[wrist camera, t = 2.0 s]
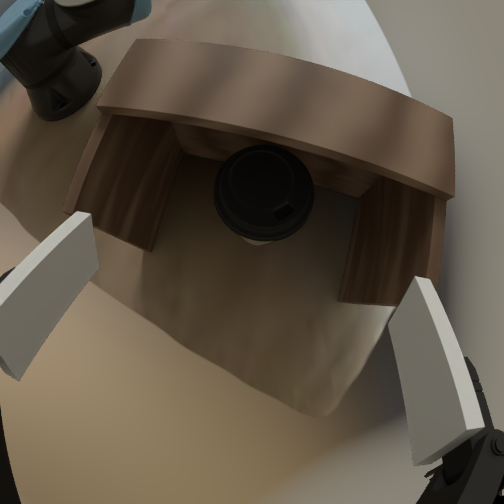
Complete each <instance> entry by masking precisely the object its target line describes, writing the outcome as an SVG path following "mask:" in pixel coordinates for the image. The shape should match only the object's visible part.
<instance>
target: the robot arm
mask: <svg viewBox="0 0 504 504" xmlns="http://www.w3.org/2000/svg"><path fill="white" fill-rule="evenodd" d="M151 9H152V4H151V0H18V1H16V2H15V3H14V4H13V5H12V6H11V7H10V8H9V9H8V10H7V11H6V12H5V13H4V14H3V15H2V17H1V18H0V62H1V63H2V64H3V65H4V66H5V67H6V68H7V69H8V70H9V72H10V73H11V74H12V75H13V76H14V77H15V78H16V79H17V80H18V81H19V82H20V83H21V84H22V85H23V86H24V87H25V88H26V90H27V93H28V96H29V99H30V101H31V104H32V107H33V109H34V111H35V112H36V113H37V114H38V115H39V116H40V117H41V118H42V119H44V120H47V121H55V120H60V119H62V118H65V117H67V116H69V115H71V114H72V113H74V112H75V111H77V110H78V109H79V108H81V107H82V106H83V105H84V104H85V103H86V102H87V101H88V100H89V99H90V98H91V96H92V95H93V94H94V92H95V91H96V89H97V88H98V86H99V83H100V81H101V77H102V69H101V66H100V64H99V63H98V61H97V59H96V58H95V57H94V56H93V55H91V54H90V53H88V52H87V51H85V50H84V49H82V48H81V47H79V46H77V45H79V44H81V43H84V42H86V41H88V40H91V39H93V38H96V37H98V36H101V35H103V34H106V33H109V32H111V31H114V30H117V29H120V28H123V27H125V26H126V27H127V26H130V25H131V24H132V23H135V22H137V21H140V20H143V19H145V18H147V17H148V16H149V14H150V13H151ZM99 268H100V267H99V262H98V256H97V251H96V244H95V238H94V231H93V224H92V216H91V214H90V213H84V212H79V211H77V212H76V213H74V214H73V215H72V216H71V217H70V218H68V219H67V220H66V221H65V222H64V223H63V224H61V225H60V226H59V227H58V228H57V229H56V230H55V231H54V232H52V233H51V234H50V235H49V236H48V237H47V238H46V239H45V240H44V241H43V242H41V243H40V245H38V246H37V247H36V248H35V249H34V250H33V251H32V252H31V253H30V254H29V255H28V256H27V257H26V258H25V259H24V260H23V261H22V262H21V263H20V264H19V265H18V266H17V267H14V268H12V269H11V270H9V271H8V272H6V273H4V274H3V275H2V276H1V277H0V366H1V368H2V369H3V371H4V372H5V373H6V374H8V375H9V376H11V377H12V378H14V379H16V380H17V381H20V379H21V377H22V376H23V374H24V373H25V371H26V369H27V368H28V366H29V365H30V363H31V361H32V360H33V358H34V357H35V355H36V354H37V352H38V351H39V349H40V347H41V346H42V345H43V343H44V342H45V340H46V339H47V337H48V336H49V334H50V333H51V331H52V330H53V329H54V327H55V326H56V324H57V323H58V321H59V320H60V319H61V317H62V315H63V314H64V313H65V312H66V310H67V309H68V308H69V306H70V305H71V304H72V302H73V301H74V299H75V298H76V297H77V295H78V294H79V293H80V292H81V290H82V289H83V288H84V286H85V285H86V284H87V283H88V281H89V280H90V279H91V278H92V276H93V275H94V274H95V272H96V271H97V270H98V269H99ZM388 327H389V331H390V335H391V339H392V343H393V348H394V353H395V357H396V361H397V366H398V371H399V376H400V381H401V386H402V391H403V397H404V403H405V409H406V415H407V422H408V428H409V436H410V443H411V451H412V460H413V466H419V465H427V464H432V463H433V462H435V461H437V460H438V459H440V458H441V457H442V461H443V464H441V465H440V466H438V467H436V468H434V469H433V470H431V471H429V472H428V473H427V474H426V475H425V476H424V477H426V478H427V477H429V476H430V475H432V474H434V475H433V477H432V478H431V479H429V480H430V482H429V484H428V485H427V487H426V489H425V491H424V492H423V494H422V495H421V497H420V498H419V500H418V501H417V503H416V504H504V496H502V490H503V489H504V432H503V431H501V430H498V429H494V426H493V423H492V420H491V416H490V413H489V409H488V406H487V402H486V399H485V396H484V393H483V392H482V390H483V389H482V386H481V384H480V383H479V378H478V375H477V372H476V369H475V367H474V366H473V364H472V363H471V361H470V360H469V359H468V357H463V355H462V352H461V350H460V347H459V344H458V342H457V339H456V337H455V335H454V332H453V329H452V327H451V325H450V322H449V320H448V317H447V315H446V313H445V311H444V308H443V306H442V304H441V302H440V300H439V297H438V295H437V293H436V291H435V289H434V287H433V285H432V282H431V280H430V279H427V278H422V277H417V276H415V277H414V279H413V281H412V283H411V284H410V286H409V288H408V290H407V292H406V294H405V296H404V297H403V299H402V301H401V303H400V305H399V306H398V308H397V310H396V312H395V313H394V315H393V317H392V318H391V320H390V322H389V324H388ZM0 504H21V501H20V498H19V495H18V492H17V488H16V485H15V481H14V478H13V474H12V470H11V466H10V461H9V457H8V452H7V447H6V442H5V436H4V430H3V423H2V416H1V408H0Z"/></svg>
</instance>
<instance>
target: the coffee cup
mask: <svg viewBox="0 0 504 504" xmlns="http://www.w3.org/2000/svg"><path fill="white" fill-rule="evenodd" d="M214 202H215V206H216V209H217V212H218V214H219V216H220V217H221V219H222V220H223V222H224V223H225V224H226V225H227V226H228V227H229V228H230V229H231V230H232V231H234V232H235V233H237V234H238V235H240V236H241V237H242V238H243V239H244V240H245V241H247V242H248V243H250V244H253V245H264V244H267V243H270V242H273V241H276V240H280V239H283V238H286V237H288V236H290V235H291V234H293V233H294V232H296V231H297V230H298V229H299V228H301V226H302V225H303V224H304V223H305V222H306V220H307V219H308V217H309V215H310V213H311V210H312V207H313V202H314V185H313V181H312V178H311V175H310V173H309V171H308V169H307V168H306V166H305V165H304V164H303V163H302V161H301V160H300V159H299V158H297V157H296V156H295V155H294V154H292V153H291V152H289V151H287V150H285V149H282V148H280V147H276V146H271V145H255V146H250V147H247V148H244V149H242V150H240V151H238V152H236V153H234V154H233V155H232V156H230V157H229V158H228V159H227V160H226V161H225V163H224V164H223V165H222V167H221V168H220V170H219V172H218V174H217V177H216V180H215V184H214Z"/></svg>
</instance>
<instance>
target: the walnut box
mask: <svg viewBox="0 0 504 504" xmlns="http://www.w3.org/2000/svg"><path fill="white" fill-rule="evenodd" d="M96 106H97V108H98V109H99V110H100V112H101V115H100V117H99V119H98V121H97V123H96V125H95V127H94V129H93V131H92V134H91V136H90V138H89V140H88V142H87V145H86V147H85V149H84V151H83V154H82V156H81V158H80V161H79V163H78V166H77V168H76V171H75V173H74V176H73V178H72V181H71V184H70V186H69V189H68V192H67V195H66V197H65V200H64V203H63V206H62V209H61V211H62V212H64V213H66V214H68V215H70V216H72V215H73V214H74V213H76V212H77V211H79V212H84V213H90V214H91V216H92V224H93V227H95V228H97V229H99V230H101V231H103V232H106V233H108V234H110V235H112V236H114V237H116V238H118V239H121V240H123V241H125V242H127V243H129V244H131V245H134V246H136V247H138V248H140V249H142V250H145V251H149V252H152V249H153V245H154V242H155V238H156V235H157V232H158V228H159V225H160V222H161V219H162V216H163V212H164V209H165V206H166V203H167V200H168V197H169V194H170V191H171V188H172V185H173V182H174V179H175V177H176V174H177V171H178V168H179V165H180V163H181V160H182V157H183V154H184V153H186V154H191V155H196V156H200V157H205V158H210V159H215V160H219V161H224V162H225V161H226V160H227V159H228V158H229V157H230V156H232V155H233V154H234V153H236V152H238V151H240V150H242V149H244V148H247V147H250V146H255V145H271V146H276V147H280V148H282V149H285V150H287V151H289V152H291V153H292V154H294V155H295V156H296V157H297V158H299V159H300V160H301V161H302V163H303V164H304V165H305V166H306V168H307V169H308V171H309V173H310V175H311V178H312V181H313V185H317V186H320V187H324V188H327V189H330V190H334V191H337V192H340V193H344V194H347V195H350V196H353V197H356V198H358V202H357V208H356V214H355V220H354V225H353V231H352V236H351V241H350V247H349V252H348V256H347V261H346V266H345V271H344V275H343V280H342V284H341V289H340V293H339V297H338V301H339V302H343V303H352V304H365V305H380V306H396V307H398V306H399V305H400V303H401V301H402V299H403V297H404V296H405V294H406V292H407V290H408V288H409V286H410V284H411V283H412V281H413V279H414V277H415V276H417V277H422V278H427V279H430V280H431V282H432V285H433V287H434V289H435V291H437V285H438V279H439V272H440V264H441V258H442V249H443V239H444V229H445V216H446V201H447V200H449V199H451V198H453V197H455V151H454V133H453V121H452V118H451V117H449V116H447V115H446V114H444V113H442V112H440V111H438V110H436V109H434V108H431V107H430V106H428V105H425V104H423V103H421V102H419V101H417V100H415V99H412V98H410V97H408V96H406V95H403V94H401V93H399V92H396V91H394V90H392V89H389V88H387V87H384V86H382V85H379V84H376V83H374V82H371V81H368V80H366V79H363V78H360V77H357V76H354V75H351V74H348V73H345V72H342V71H339V70H336V69H333V68H329V67H326V66H322V65H319V64H315V63H312V62H308V61H304V60H300V59H296V58H292V57H288V56H284V55H279V54H274V53H270V52H265V51H259V50H254V49H248V48H242V47H236V46H229V45H222V44H214V43H205V42H195V41H183V40H166V39H136V40H135V42H134V43H133V44H132V46H131V47H130V49H129V50H128V52H127V53H126V55H125V57H124V58H123V60H122V61H121V63H120V64H119V66H118V68H117V69H116V71H115V73H114V74H113V76H112V78H111V79H110V81H109V83H108V84H107V86H106V88H105V90H104V91H103V93H102V95H101V97H100V99H99V101H98V102H97V104H96Z"/></svg>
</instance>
